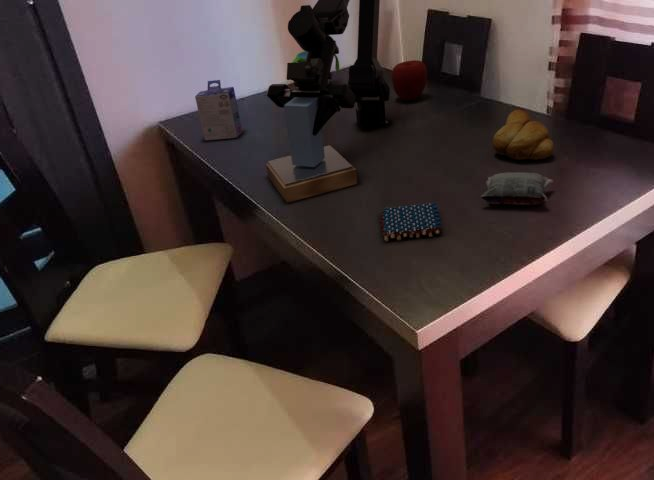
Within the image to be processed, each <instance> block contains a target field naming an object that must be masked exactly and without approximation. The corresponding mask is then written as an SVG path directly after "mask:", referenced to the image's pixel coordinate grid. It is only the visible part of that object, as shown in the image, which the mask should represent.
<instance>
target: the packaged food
mask: <svg viewBox="0 0 654 480" xmlns="http://www.w3.org/2000/svg"><path fill="white" fill-rule="evenodd" d="M553 183H554V180H553V179H550V178H549V177H546V176H543V175H542V174H540V173H536V172H526V171H525V172H524V171H520V172H517V171H515V172H514V171H513V172H512V171H507V172H500V173H497V174H496V173H495V174H493V175H492V176H490V177H489V176H487V180H486V182H485V184H486V186H487V187H486V188H487V190H486V191H485V192H484V193H482V195H480V199H482V200H484V201H486V202H487V203H488V204H492V205H512V206H513V205H516V206H517V205H518V206H522V205H523V206H526V205H528V206H530V205H540V204H541V203H543V202H546V203H549V200H548V197H547V196H546V195H545V193H544V191H545V190H546V189H548V187H549V186H550V185H552V184H553Z"/></svg>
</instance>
